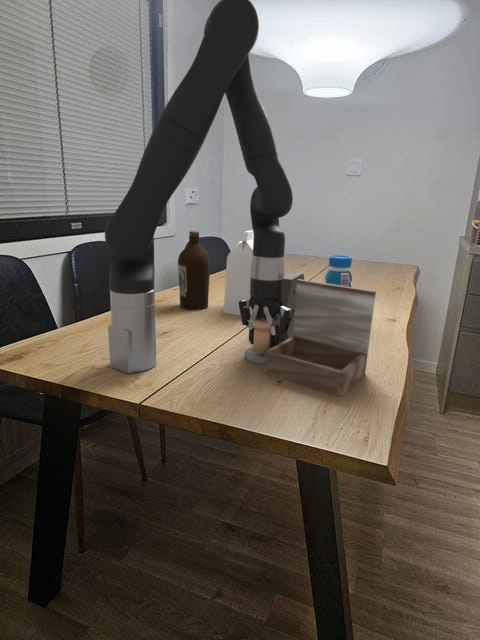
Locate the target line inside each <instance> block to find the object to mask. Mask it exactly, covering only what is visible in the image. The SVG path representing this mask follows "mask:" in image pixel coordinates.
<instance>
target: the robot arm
mask: <svg viewBox="0 0 480 640" xmlns="http://www.w3.org/2000/svg"><path fill="white" fill-rule="evenodd" d="M259 31H260V21H259V16H258V13H257V10H256V8H255V6H254V4H253V3H252V2H251V0H220V1H218V2H217V3H216V4H215V5H214V6H213V8H212V10H211V11H210V14H209V15H208V17H207V20H206V22H205V25H204V28H203V37H202V40H201V42H200V44H199V47H198V50H197V53H196V55H195V58H194V59H193V61H192V63H191V66H190V67H189V69H188V70H187V72H186V74H185V75H184V77H183V78H182V79H181V81H180V83H179V84H178V86H177V87H176V89H175V90H174V92H173V94H172V95H171V96H170V99H169V100H168V101H167V103H166V105H165V107H164V109H163V110H162V112H161V113H160V117H159V118H158V120H157V123H156V125H155V127H154V128H153V130H152V132H151V135H150V137H149V138H148V139H149V140H148V142H147V144H146V147H145V148H144V152H143V155H142V157H141V160H140V162H139V165H138V167H137V171H136V173H135V176H134V179H133V181H132V183H131V185H130V187H129V189H128V191H127V193H126V194H125V196H124V198H123V199H122V200H121V202H120V204H119V205H118V207H117V208H116V211H115V212H114V213H113V214H112V216H111V217H110V218H109V220H108V222H107V224H106V226H105V230H104V240H105V244H106V246H107V247H108V250H109V265H110V266H109V277H108V280H109V282H108V283H109V296H110V300H109V301H110V317H111V318H110V321H111V324H109V325H108V326H107V331H108V332H107V333H108V334H107V335H108V337H107V338H108V351H109V366H110V367H111V368H113V369H116V370H118V371H121V372H123V373H126V374H132V373H137V372H145V371H147V370H150V369H152V368H154V367H155V366H156V365H157V340H156V338H157V337H156V336H157V335H156V332H157V331H156V299H155V298H156V295H155V294H156V293H155V277H156V276H155V274H156V273H155V233H156V230H157V228H158V225H159V222H160V220H161V217H162V215H163V213H164V211H165V208H166V206H167V204H168V203H169V200H170V199H171V198H172V196H173V195H174V193H175V191H176V190H177V189H178V187H179V186H180V184H181V183H182V181H183V180H184V178H185V177H186V176H187V174H188V173H189V170H190V169H191V167H192V166H193V163H194V162H195V160H196V158H197V156H198V155H199V152H200V151H201V148H202V147H203V144H204V143H205V140H206V139H207V136H208V133H209V131H210V130H211V127H212V125H213V123H214V120H215V118H216V115H217V113H218V111H219V109H220V106H221V103H222V102H223V101H222V100H223V98H224V96H226V99H227V103H228V106H229V109H230V113H231V116H232V121H233V123H234V124H233V125H234V127H235V131H236V135H237V140H238V143H239V147H240V150H241V154H242V158H243V161H244V166H245V168H246V170H247V172H248V173H249V174H250V175H251V176H253V178H254V181H255V183H256V185H257V186H256V187H255V189H254V190H253V191H252V193H251V198H250V203H249V208H250V211H249V212H250V218H251V225H252V226H251V227H252V231H253V233H254V239H253V257H252V263H251V279H250V295H251V297H250V299H249V300H247V299H245V300H242V301H239V309H240V314H241V315H240V319H241V325H242V326H246V327H247V328H248V342H249V344H250V345H252V346H253V342H254V328H253V327H252V320H257V319H261V318H263V319H265V320H267V323H268V324H270V325H271V326H272V328H271V335H270V348H272V347H274V346H276V345H278V344H280V342H279V334H283V333H284V332H287V331H288V328H289V325H290V322H291V319H292V316H293V313H294V310H293V309H292V308H290V309H288V308H286V307H284V306H283V304H282V295H283V281H284V271H285V249H286V248H285V247H286V246H285V245H286V244H285V243H286V236H285V232H284V230H282V229H281V227H280V219H279V218H283V217H285V216H287V215H288V214H289V212H290V211H291V210H292V205H293V202H294V201H293V200H294V199H293V198H294V197H293V190H292V187H291V184H290V181H289V179H288V177H287V175H286V172H285V169H284V168H283V165H282V164H281V161H280V160H279V155H278V150H277V146H276V141H275V137H274V132H273V130H272V127H271V123H270V120H269V117H268V115H267V113H266V110H265V108H264V106H263V104H262V102H261V99H260V97H259V95H258V91H257V89H256V86H255V83H254V79H253V75H252V68H251V62H250V52H251V51H252V50H253V49H254V47H255V45H256V43H257V40H258V36H259ZM250 306H251V308H252V310H253V312H252V315H251V314H250V309H249V308H250ZM280 311H281V313H282V314H281V316H282V320H281V323H280V325H279V322H280V320H279V316H278V313H279V312H280ZM275 324H277V326H276V327H275Z"/></svg>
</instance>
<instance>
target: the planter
mask: <svg viewBox="0 0 480 640" xmlns="http://www.w3.org/2000/svg"><path fill="white" fill-rule="evenodd" d="M298 279H302V280H305V275H304V272H296V271H287V270H284V281H283V295H282V304H283V306H284V307H286V308H288V309H290V308H292V309H293V310H294V313H293V316H292V319H291V322H290V325H289V328H288V331H287V332H284V333H283V334H279V343H281V342H283V341H285V340H287V339H289V338H291V337H292V336H293V329H294V315H295V302H296V289H297V280H298ZM281 314H282V313H281V311H280V312H279V313H278V316H279V320H280V322H279V325H280V323H281V320H282V316H281Z"/></svg>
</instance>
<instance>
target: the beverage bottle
mask: <svg viewBox="0 0 480 640" xmlns="http://www.w3.org/2000/svg"><path fill="white" fill-rule="evenodd" d="M328 259H329V260H328V267H329V269H328V271H327V272H326V273H325V276H324V279H325V280H324V281H325V282H324V283H327V284H334V285H340V286H347V287H353V286H352V284H351V283H352V282H353V276H352V273H351V271H350V269H351V267H352V261H353V258H352V257H351V256H349V255H345V254H344V255H343V254H339V255H338V254H332V255H330V256H329V258H328Z"/></svg>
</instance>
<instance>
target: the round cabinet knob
mask: <svg viewBox="0 0 480 640" xmlns="http://www.w3.org/2000/svg"><path fill="white" fill-rule="evenodd" d="M276 326H277V324H275V327H276ZM252 327H253V328H254V342H253V345H252V348H253V351H254V352H256V353H259V354H264V352H265V351H267V350H269V349H270V335H271V328H272V326H271V325H270V324H268V323H267V320H265V319H263V318H261V319H257V320H252Z"/></svg>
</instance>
